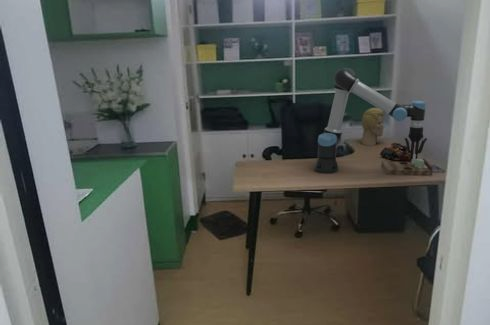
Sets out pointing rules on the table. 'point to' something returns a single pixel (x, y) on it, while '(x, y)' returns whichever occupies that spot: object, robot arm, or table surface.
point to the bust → (372, 126)
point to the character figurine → (396, 153)
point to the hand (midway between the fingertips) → (413, 163)
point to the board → (406, 168)
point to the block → (419, 163)
